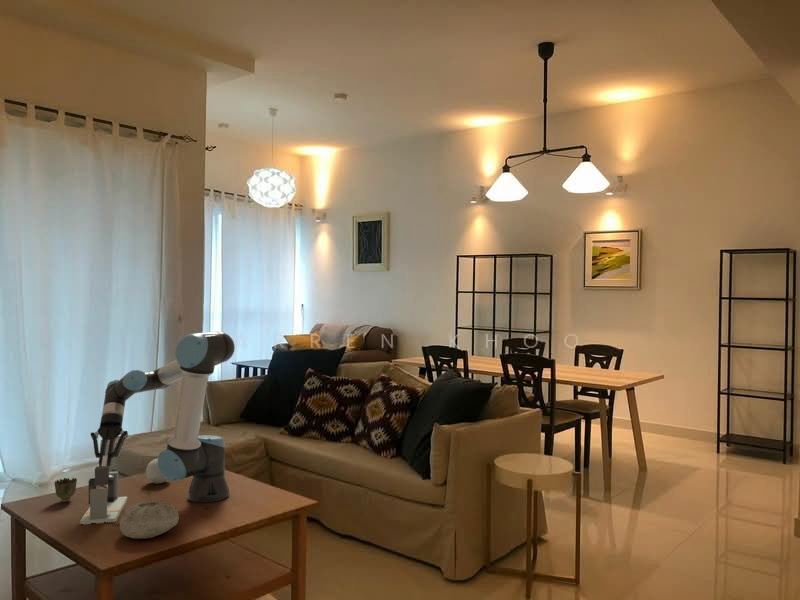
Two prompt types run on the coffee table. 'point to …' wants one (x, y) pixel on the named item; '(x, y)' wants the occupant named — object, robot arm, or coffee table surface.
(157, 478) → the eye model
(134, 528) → the grey stone
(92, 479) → the collar
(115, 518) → the pipe stand
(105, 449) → the robot arm
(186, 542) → the coffee table surface
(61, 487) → the cup
